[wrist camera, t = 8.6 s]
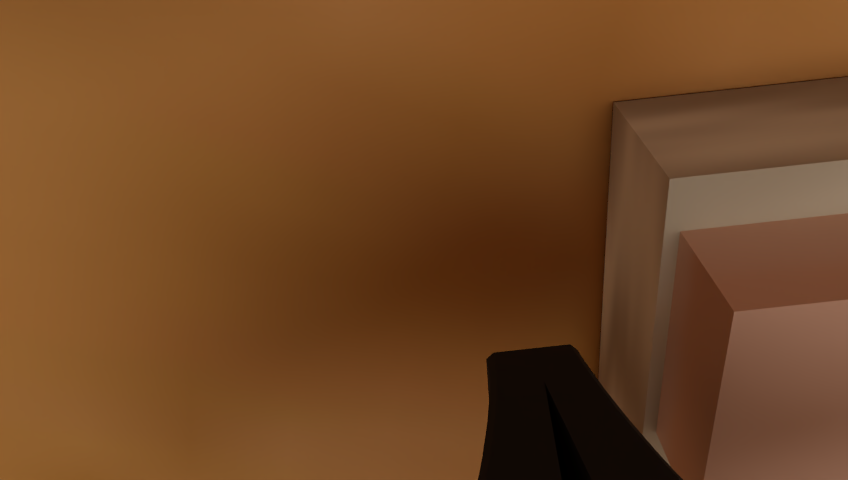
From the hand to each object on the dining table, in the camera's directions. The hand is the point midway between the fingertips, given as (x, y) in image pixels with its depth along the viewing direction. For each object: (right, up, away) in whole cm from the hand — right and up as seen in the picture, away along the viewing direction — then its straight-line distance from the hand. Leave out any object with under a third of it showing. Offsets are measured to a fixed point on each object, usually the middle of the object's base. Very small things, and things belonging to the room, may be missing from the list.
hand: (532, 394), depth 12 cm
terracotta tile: (+5, +1, +1) cm, 5 cm away
